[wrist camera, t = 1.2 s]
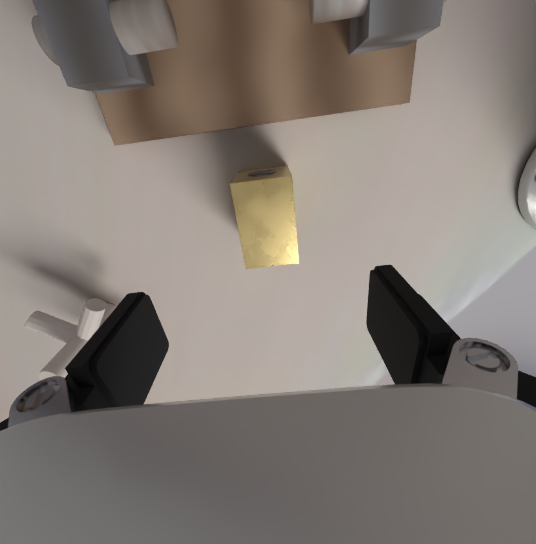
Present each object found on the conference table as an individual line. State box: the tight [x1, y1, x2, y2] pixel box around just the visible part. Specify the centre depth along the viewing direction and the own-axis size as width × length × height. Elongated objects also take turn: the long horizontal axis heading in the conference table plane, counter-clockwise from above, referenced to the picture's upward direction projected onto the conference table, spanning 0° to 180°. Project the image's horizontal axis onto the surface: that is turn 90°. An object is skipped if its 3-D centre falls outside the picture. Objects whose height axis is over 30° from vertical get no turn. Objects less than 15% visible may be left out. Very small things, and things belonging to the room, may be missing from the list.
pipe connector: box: [25, 298, 116, 381], centre depth 27 cm, size 10×10×10 cm
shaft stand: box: [32, 0, 446, 145], centre depth 17 cm, size 24×12×5 cm, turn 97°
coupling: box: [230, 165, 299, 269], centre depth 23 cm, size 7×4×6 cm, turn 7°
